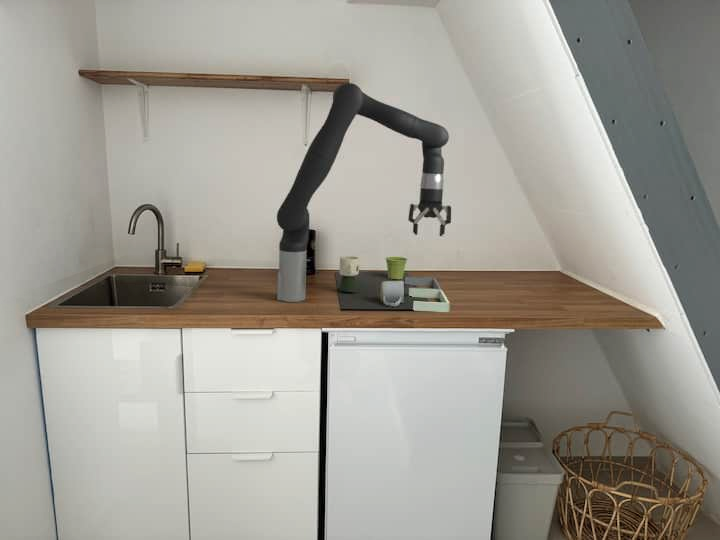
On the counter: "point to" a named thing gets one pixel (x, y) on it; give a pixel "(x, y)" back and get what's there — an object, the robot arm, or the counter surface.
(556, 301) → the counter surface
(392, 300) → the ceramic mug
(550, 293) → the counter surface
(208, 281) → the counter surface
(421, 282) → the corral charcoal
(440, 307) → the corral green
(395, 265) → the plant pot
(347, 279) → the character mug
